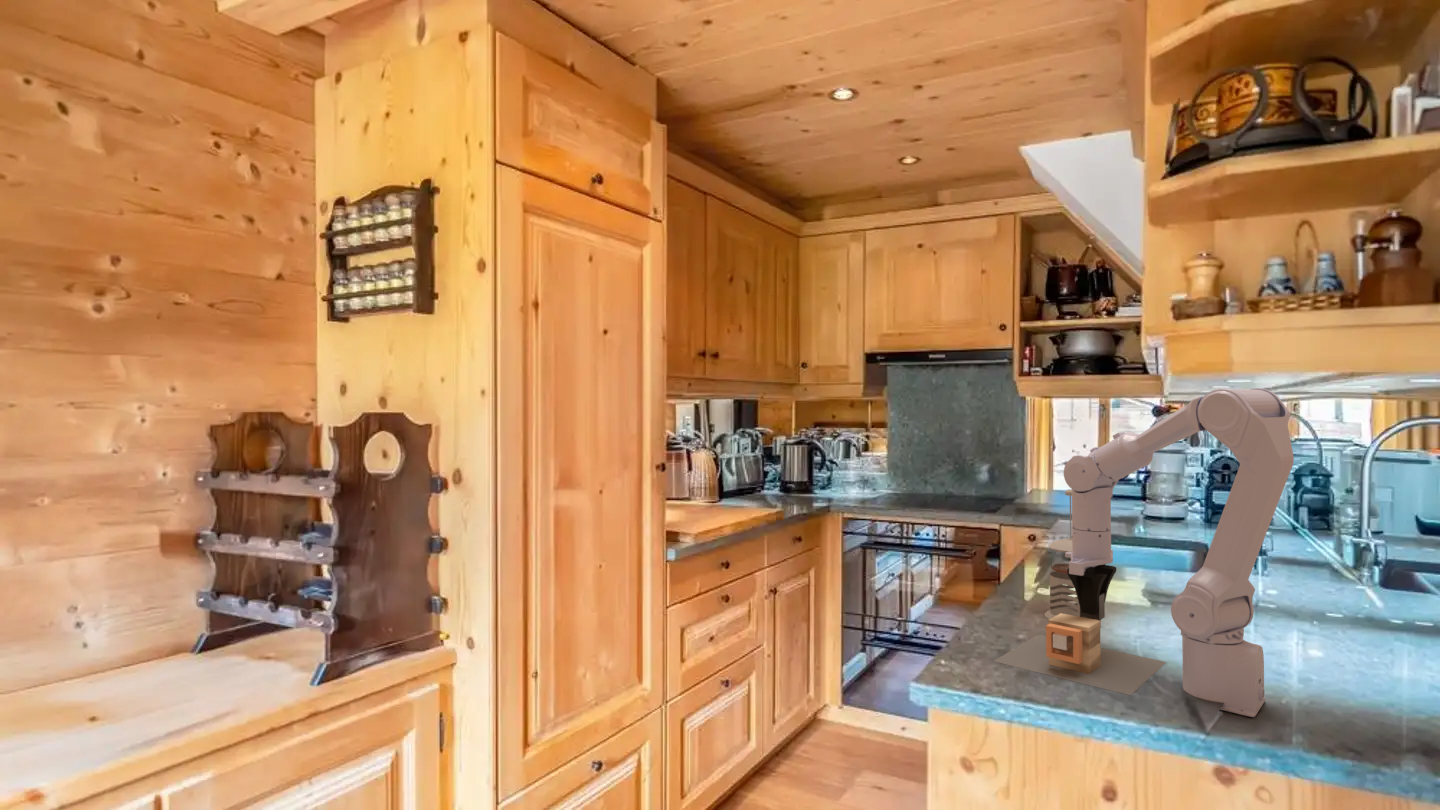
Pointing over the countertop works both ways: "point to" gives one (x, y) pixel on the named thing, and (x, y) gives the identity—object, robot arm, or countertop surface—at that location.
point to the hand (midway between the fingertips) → (1092, 611)
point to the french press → (1062, 580)
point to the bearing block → (1088, 642)
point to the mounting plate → (1112, 674)
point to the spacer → (1068, 657)
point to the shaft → (1066, 640)
